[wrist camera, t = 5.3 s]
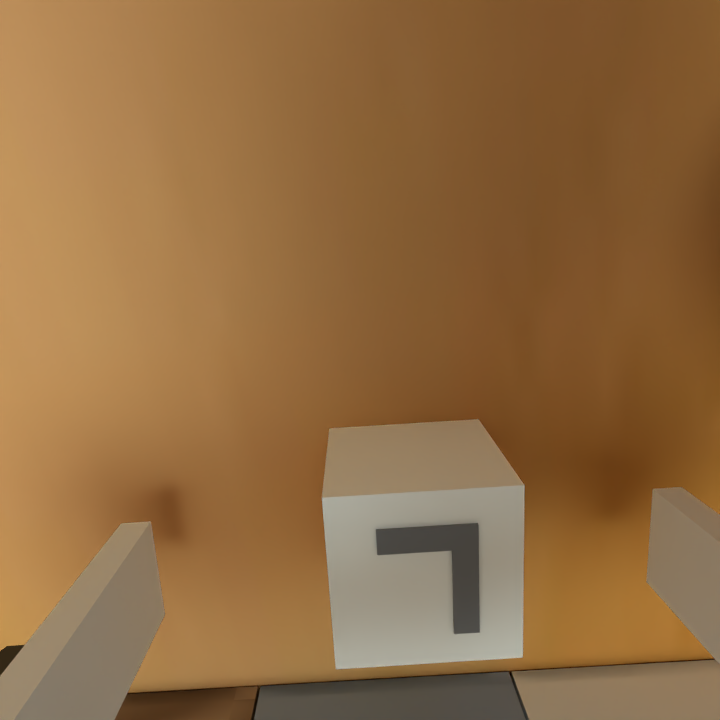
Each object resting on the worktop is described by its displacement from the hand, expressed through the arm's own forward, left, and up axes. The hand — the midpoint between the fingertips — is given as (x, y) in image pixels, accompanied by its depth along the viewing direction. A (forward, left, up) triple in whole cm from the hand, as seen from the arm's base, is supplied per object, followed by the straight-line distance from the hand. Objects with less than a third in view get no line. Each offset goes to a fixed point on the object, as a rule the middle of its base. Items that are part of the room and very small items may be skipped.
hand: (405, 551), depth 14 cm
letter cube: (0, 0, -3) cm, 3 cm away
